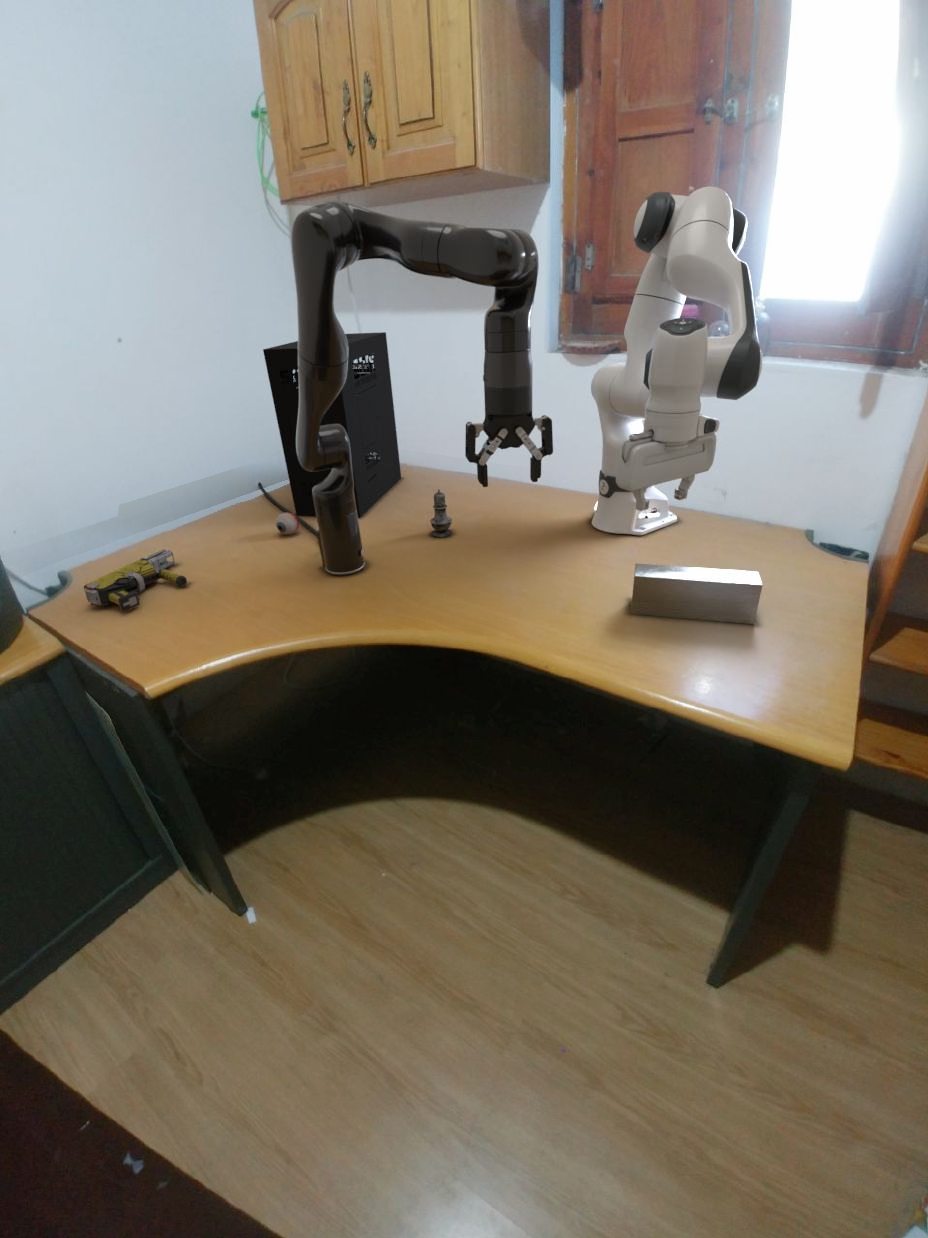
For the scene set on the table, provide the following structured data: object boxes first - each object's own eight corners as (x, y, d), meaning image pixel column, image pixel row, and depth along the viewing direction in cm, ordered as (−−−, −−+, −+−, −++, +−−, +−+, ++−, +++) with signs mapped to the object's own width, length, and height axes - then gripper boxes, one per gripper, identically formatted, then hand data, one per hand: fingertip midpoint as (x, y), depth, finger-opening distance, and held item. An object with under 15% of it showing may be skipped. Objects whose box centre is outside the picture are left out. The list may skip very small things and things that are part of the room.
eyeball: (273, 537, 164) (268, 516, 161) (287, 528, 169) (282, 508, 166) (291, 539, 161) (286, 518, 158) (305, 530, 166) (301, 510, 163)
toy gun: (210, 557, 146) (160, 546, 150) (132, 599, 126) (77, 585, 130) (213, 575, 148) (164, 564, 152) (137, 618, 128) (82, 604, 132)
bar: (630, 613, 119) (634, 576, 114) (631, 600, 123) (635, 563, 119) (753, 624, 113) (762, 584, 109) (750, 609, 118) (758, 571, 113)
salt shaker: (450, 537, 157) (447, 492, 151) (428, 536, 158) (424, 492, 152) (455, 529, 162) (452, 485, 156) (433, 528, 163) (430, 485, 157)
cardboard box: (360, 517, 174) (335, 347, 151) (296, 514, 178) (263, 349, 156) (401, 477, 205) (385, 332, 183) (345, 476, 210) (324, 334, 187)
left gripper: (467, 388, 90) (472, 494, 98) (559, 381, 91) (556, 485, 99) (459, 381, 96) (464, 481, 104) (545, 374, 98) (544, 473, 106)
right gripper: (637, 439, 96) (630, 521, 103) (726, 419, 104) (714, 497, 111) (610, 432, 100) (605, 511, 107) (698, 414, 109) (687, 488, 116)
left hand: (509, 483), depth 102 cm, fingers open, 8 cm apart
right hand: (661, 504), depth 109 cm, fingers open, 8 cm apart
